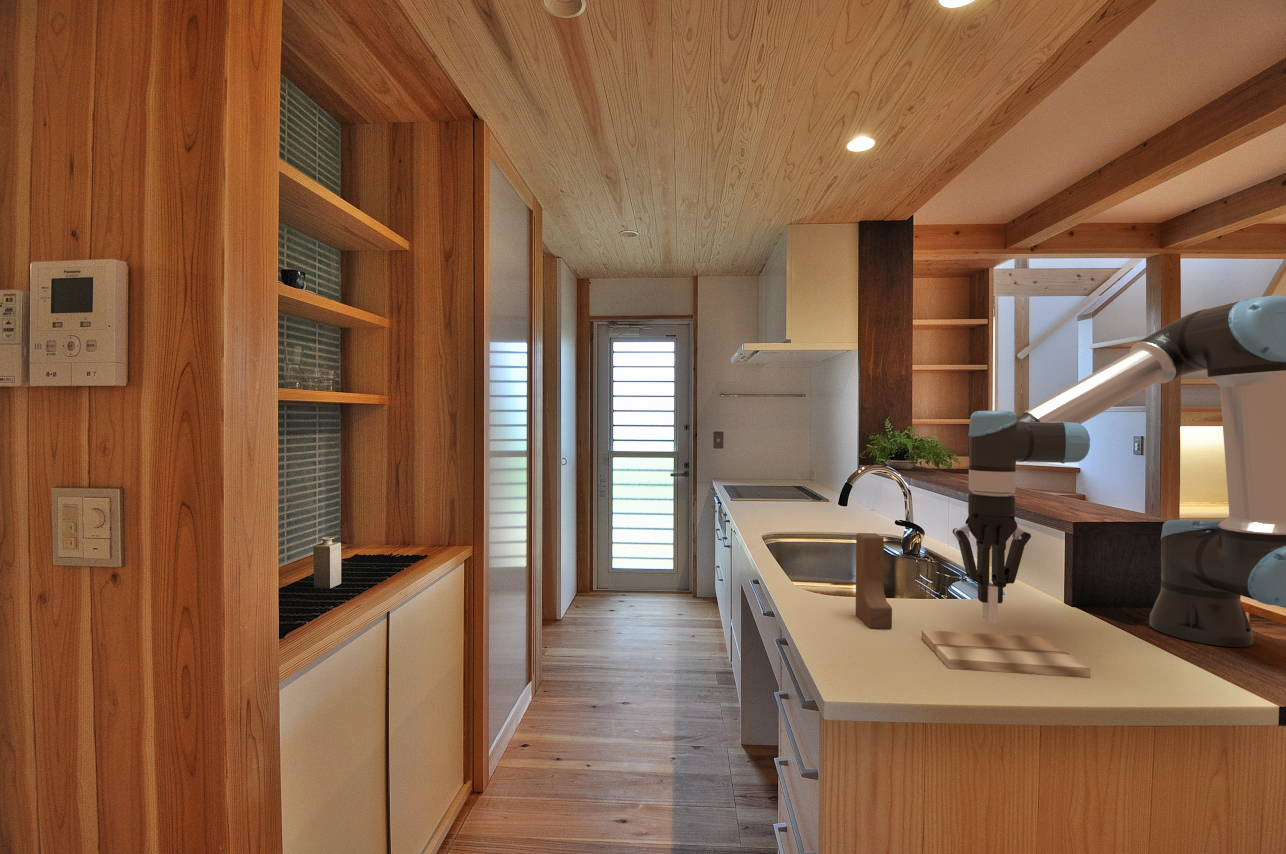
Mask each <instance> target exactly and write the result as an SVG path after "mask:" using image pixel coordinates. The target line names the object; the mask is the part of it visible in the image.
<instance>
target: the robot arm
mask: <svg viewBox="0 0 1286 854" xmlns="http://www.w3.org/2000/svg"><path fill="white" fill-rule="evenodd" d="M1206 370H1207V371H1206ZM1201 371H1206V373H1207V379H1208V380H1209V381H1211V382H1212V383H1214V384H1216V385H1217V386H1218V387H1219V393H1220V407H1221V418H1222V420H1221V422H1222V432H1223V433H1222V434H1223V435H1222V436H1223V446H1224V447H1223V449H1224V458H1225V460H1224V462H1225V472H1226V486H1227V501H1228V502H1227V504H1228V513H1229V515H1228V516H1227V517H1226V518H1225V519H1224V520H1201V519H1199V520H1197V519H1196V520H1193V519H1191V520H1190V519H1169V520H1167V521H1165V522H1163V524H1162V528H1161V536H1160V549H1161V550H1160V554H1161V557H1160V560H1161V562H1160V564H1161V565H1160V570H1161V571H1160V576H1161V577H1160V578H1161V579H1160V580H1161V581H1160V590H1159V591H1160V592H1159V594H1158V597H1157V598H1156V600H1155V602H1154V605H1153V608H1152V610H1151V611H1150V613H1149V626H1150V627H1151V628H1152V629H1153V630H1155V631H1157V632H1159V633H1163V634H1165V635H1166V636H1167V635H1168V636H1171V637H1173V638H1174V637H1175V638H1178V639H1181V640H1186V641H1189V642H1195V643H1199V644H1205V645H1211V646H1217V647H1218V646H1220V647H1226V648H1227V647H1229V648H1230V647H1231V648H1244V647H1251V646H1252V645H1253V644H1254V631H1253V629H1252V627H1251V624H1250V622H1249V619H1248V617H1247V614H1246V612H1245V609H1244V606H1243V605H1242V599H1241V598H1242V597H1244V598H1248V599H1250V600H1251V599H1252V600H1253V601H1257V602H1258V603H1261V604H1263V605H1268V606H1275V607H1279V608H1283V609H1286V296H1283V295H1267V296H1260V297H1259V296H1258V297H1251V298H1247V299H1242V300H1239V301H1235V302H1232V303H1231V302H1230V303H1227V304H1223V305H1219V306H1215V307H1211V308H1205V309H1200V310H1197V311H1193V312H1191V313H1189V314H1187V315H1185V316H1182V317H1179V318H1177V319H1176V320H1174V321H1172V322H1170V323H1169V324H1167V325H1165V326H1164V327H1162V328H1160V329H1159V330H1157V331H1154V332H1153V333H1151V334H1150V335H1148V336H1147V337H1145V338H1143V339H1142V340H1139V341H1137V342H1135V343H1134V344H1133V345H1132V346H1131V347H1130V349H1129V353H1127V354H1124V355H1123V356H1121V357H1119V358H1118V359H1116V360H1114V361H1112V362H1110V363H1109V364H1107V365H1105V366H1103V367H1102V368H1100V369H1098V370H1096V371H1094V372H1093V373H1091V374H1089V375H1088V376H1086V377H1084V378H1081V379H1080V380H1079V381H1077V382H1075V383H1073V384H1071V385H1069V386H1068V387H1066V388H1064V389H1062V390H1060V391H1059V392H1057V393H1056V394H1054V395H1051V396H1050V397H1048V398H1046V399H1045V400H1043V401H1040V402H1039V403H1038V404H1035V405H1034V406H1032V407H1030V408H1029V409H1027V410H1024V411H1023V412H1022V413H1021V412H1020V414H1018V415H1017V414H1016V412H1015V411H1013V410H978V411H974V412H972V414H971V415H970V418H969V425H968V433H967V436H968V462H969V463H968V490H969V491H971V493H969V494H968V496H967V498H968V499H967V500H968V501H967V502H968V505H967V508H968V509H967V513H968V516H967V518H966V520H965V524H964V525H962V526H961V527H959V528H957V527H956V528H953V529H952V534H953V535H954V537H955V538H956V540H957V541H958V542H957V543H958V545H959V550H960V555H961V558H962V562H963V566H964V571H965V573H966V577H967V579H969V580H970V581H972V582H973V583H977V599H978V601H980V602H981V603H982V618H983V619H984V620H985V621H986V622H989V623H998V618H999V616H998V615H999V614H998V612H999V611H998V609H999V607H998V606H999V605H998V604H1002V603H1003V602H1004V589H1005V588H1006V587H1007V585H1008V584H1011V585H1012V584H1014V583H1015V582H1016V578H1017V575H1018V571H1019V569H1020V564H1021V560H1022V557H1023V554H1024V551H1025V547H1026V545H1027V543H1028V542H1029V541H1030V539H1031V538H1032V535H1031V533H1030V532H1027V531H1024V530H1022V529H1021V528H1019V527H1018V523H1017V521H1016V519H1015V516H1016V497H1015V496H1014V495H1012V494H1014V493H1016V480H1017V479H1016V470H1017V469H1016V468H1017V466H1016V465H1017V463H1024V462H1026V463H1059V464H1062V465H1063V464H1065V463H1070V464H1071V463H1079V462H1081V461H1083V460H1084V459H1085V458H1087V455H1088V454H1089V451H1090V449H1091V438H1090V433H1089V432H1088V430H1087V429H1086V427H1085V426H1084V425H1083V423H1085V422H1087V421H1089V420H1091V419H1093V418H1094V417H1097V416H1098V415H1100V414H1102V413H1103V412H1105V411H1107V410H1109V409H1111V408H1112V407H1115V406H1116V405H1118V404H1120V403H1121V402H1124V401H1126V400H1127V399H1129V398H1131V397H1133V396H1134V395H1136V394H1138V393H1140V392H1142V391H1144V390H1145V389H1148V388H1149V387H1151V386H1153V385H1155V384H1167V383H1169V382H1171V381H1173V380H1175V379H1176V378H1179V377H1182V376H1184V375H1189V374H1190V373H1192V374H1193V373H1196V372H1201ZM970 533H971V535H972V536H973V537H974V538H975V540H976V541H975V543H976V544H975V545H976V555H977V556H976V562H975V558H974V557H975V556H974V553H973V549H972V545H971V542H970V539H969V538H970ZM1011 536H1012V540H1011V542H1010V545H1009V549H1008V554H1007V557H1006V556H1005V554H1006V553H1005V551H1006V549H1007V541H1008V540H1009V539H1010V538H1011ZM990 551H991V552H990ZM990 553H991V555H990ZM990 556H991V557H990ZM990 558H991V582H990ZM1005 558H1006V561H1005Z"/></svg>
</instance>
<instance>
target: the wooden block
mask: <svg viewBox="0 0 1286 854" xmlns="http://www.w3.org/2000/svg"><path fill="white" fill-rule="evenodd" d="M855 536H856V538H855V539H856V540H855V542H856V543H855V547H856V549H855V552H856V553H855V558H856V559H855V615H856V617H858V618H859V620H861V621H862V622H863V623H864V624H865V625H866V626H868V627H869V629H874V630H875V629H876V630H877V629H878V630H879V629H880V630H881V629H884V630H891V629H892V628H893V608H892V606H891V604H889V602H887V599H886V595H885V587H884V568H885V567H884V561H885V560H884V557H885V556H884V555H885V552H884V549H885V548H884V547H885V544H884V543H885V539H884V537H883V536H881V535H879V534H878V533H870V532H869V533H868V532H867V533H862V532H859V533H856V535H855Z"/></svg>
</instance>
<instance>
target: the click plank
mask: <svg viewBox="0 0 1286 854" xmlns="http://www.w3.org/2000/svg"><path fill="white" fill-rule="evenodd" d="M921 638H922V640H923V641H924V642H925V643H926V645H927V646H928V647H929V648H930V649H931V650H932V652H933V653H935V645H950V646H966V647H983V648H999V649H1016V650H1032V651H1049V652H1065V653H1067V652H1066V650H1063V648H1061V647H1059V646H1058V645H1056V643H1054V642H1052V641H1051V640H1049V639H1048V638H1047V637H1045V636H1030V635H1017V634H1016V635H1015V634H1014V635H1013V634H1000V633H999V634H997V633H996V634H995V633H981V632H978V633H977V632H964V631H963V632H961V631H945V630H943V631H942V630H928V629H927V630H926V629H921Z"/></svg>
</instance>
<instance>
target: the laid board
mask: <svg viewBox="0 0 1286 854" xmlns="http://www.w3.org/2000/svg"><path fill="white" fill-rule="evenodd" d="M1065 652H1066V651H1065ZM1065 652H1049V651H1032V650H1016V649H999V648H983V647H966V646H950V645H935V652H934V653H935V655H936V656H937V657H938V658H939V660H940V661H941V662H942V663H943V664H944V665H945V666H946V667H947V668H948V669H952V670H955V669H956V670H970V671H983V672H984V671H985V672H1000V673H1001V672H1002V673H1014V674H1015V673H1016V674H1027V675H1028V674H1031V675H1044V676H1045V675H1047V676H1062V677H1075V678H1076V677H1077V678H1090V679H1091V667H1090V666H1089V665H1087V664H1085V663H1083V662H1082V661H1081V660H1080V659H1077V658H1076V657H1074V656H1073V655H1072V654H1070V653H1069V652H1066V653H1065Z"/></svg>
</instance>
